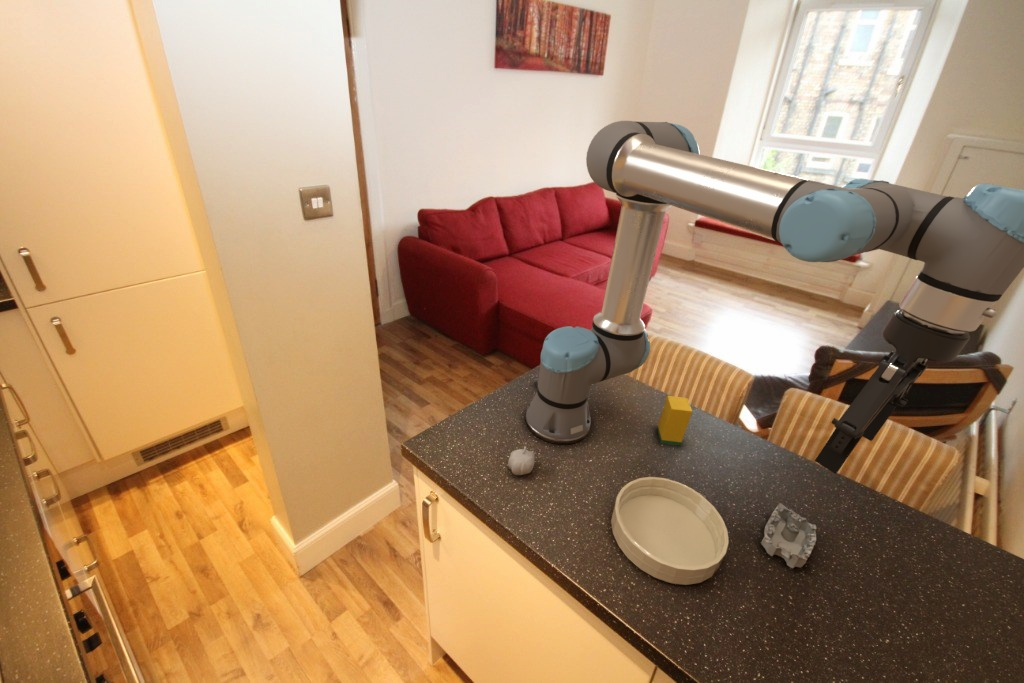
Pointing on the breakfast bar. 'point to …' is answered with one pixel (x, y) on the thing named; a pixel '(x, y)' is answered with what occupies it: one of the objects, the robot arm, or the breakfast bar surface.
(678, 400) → the sponge
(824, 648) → the breakfast bar surface
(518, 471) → the garlic
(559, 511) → the breakfast bar surface
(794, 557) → the egg carton
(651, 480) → the pan
